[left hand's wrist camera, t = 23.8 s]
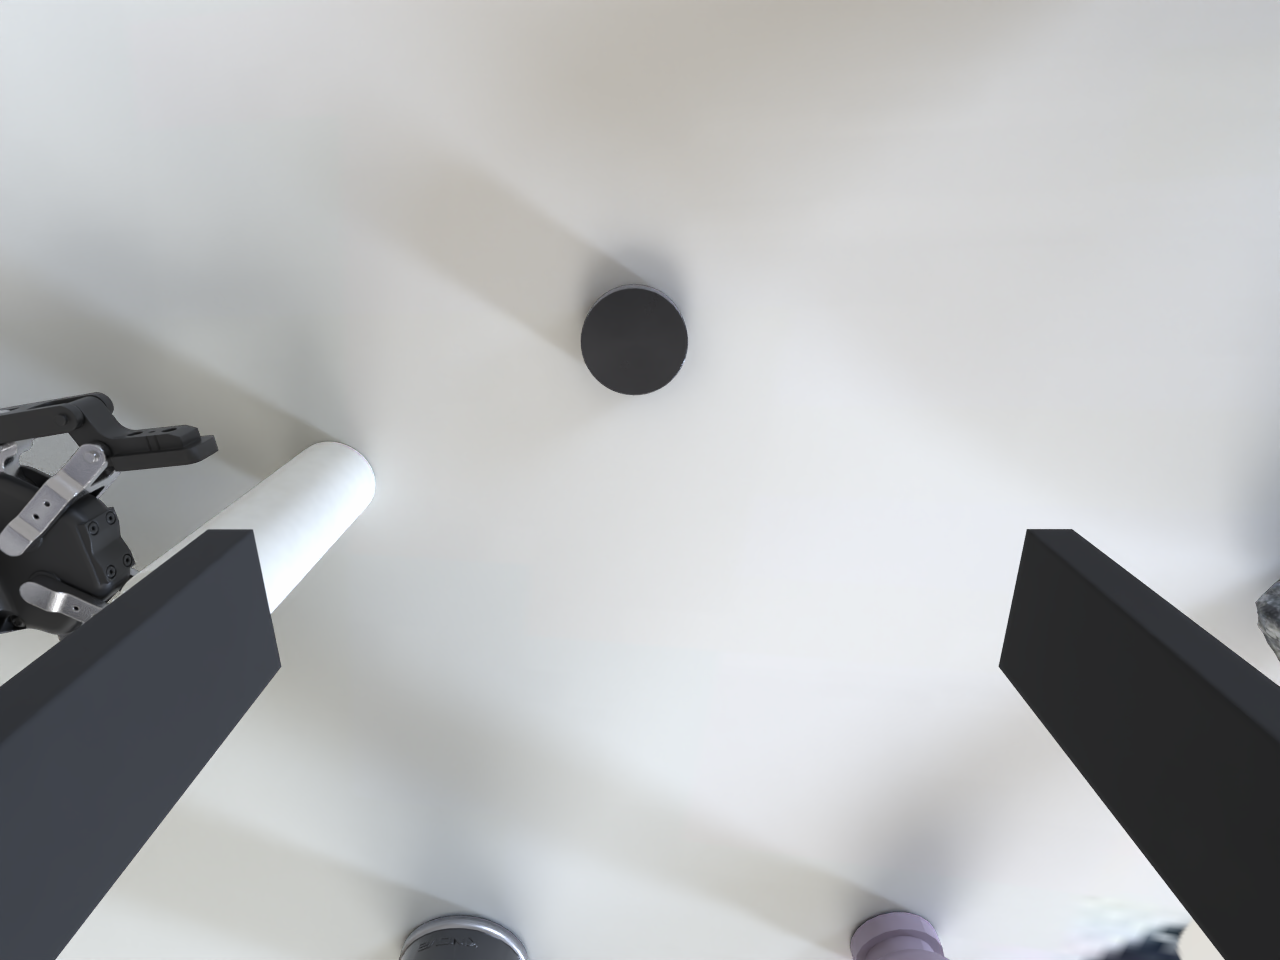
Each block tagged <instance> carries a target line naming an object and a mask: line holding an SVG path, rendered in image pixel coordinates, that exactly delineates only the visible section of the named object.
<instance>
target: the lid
mask: <svg viewBox="0 0 1280 960" xmlns="http://www.w3.org/2000/svg"><path fill="white" fill-rule="evenodd" d="M687 347H688V336H687V330H686V326H685V323H684V320H683V318H682V315H681V313H680V311H679V309H678V308H677V306H676V305H675V304H674V302H673V301H672V300H671V299H670V298H669V297H668V296H666V295H665V294H664V293H662V292H660V291H659V290H657V289H655V288H652V287H649V286H645V285H638V284H631V285H624V286H620V287H617V288H614V289H612V290H610V291H608V292H607V293H605V294H604V295H603V296H602V297H600V298H599V299H598V300H597V301H596V303H595V304H594V305H593V306H592V308H591V309H590V311H589V313H588V315H587V317H586V320H585V322H584V325H583V328H582V333H581V349H582V355H583V358H584V361H585V363H586V365H587V367H588V369H589V370H590V372H591V374H592V375H593V376H594V377H595V378H596V379H597V380H598V381H599V382H600V383H601V384H603V385H604V386H605V387H607V388H609V389H611V390H613V391H615V392H618V393H622V394H626V395H642V394H648V393H651V392H654V391H656V390H658V389H660V388H662V387H664V386H665V385H666V384H668V383H669V382H670V381H671V380H672V379H673V378H674V377H675V376H676V375H677V373H678V372H679V370H680V369H681V367H682V365H683V363H684V360H685V357H686V353H687Z"/></svg>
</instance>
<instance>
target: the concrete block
mask: <svg viewBox="0 0 1280 960" xmlns="http://www.w3.org/2000/svg"><path fill="white" fill-rule="evenodd" d="M1256 606H1257V613H1258V624H1257V625H1258V627H1259V628H1260V630H1261V631H1262V632H1263V634H1264V636H1265V638H1266V640H1267V643H1268V644H1269V646H1270V647H1271V648H1272V650H1273V651H1274V653H1275V654H1276V656H1277V658H1278V660H1279V661H1280V580H1278V581H1277V582H1276V583H1275V584H1274V585H1273V586H1272V587H1271V588H1269V589H1268V590H1267V591H1266V592H1265V593H1264V594H1263V595H1262V596H1261V597H1260V598H1259V599H1258V600H1257V601H1256Z"/></svg>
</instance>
